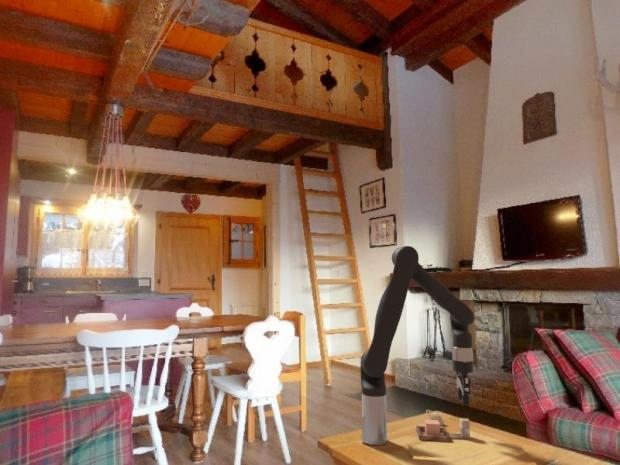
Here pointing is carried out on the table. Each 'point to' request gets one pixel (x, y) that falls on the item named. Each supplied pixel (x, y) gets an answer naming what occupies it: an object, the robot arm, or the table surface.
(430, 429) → the terracotta cube
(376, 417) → the robot arm
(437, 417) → the decorative ornament
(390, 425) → the table surface
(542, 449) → the table surface
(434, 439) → the tray
